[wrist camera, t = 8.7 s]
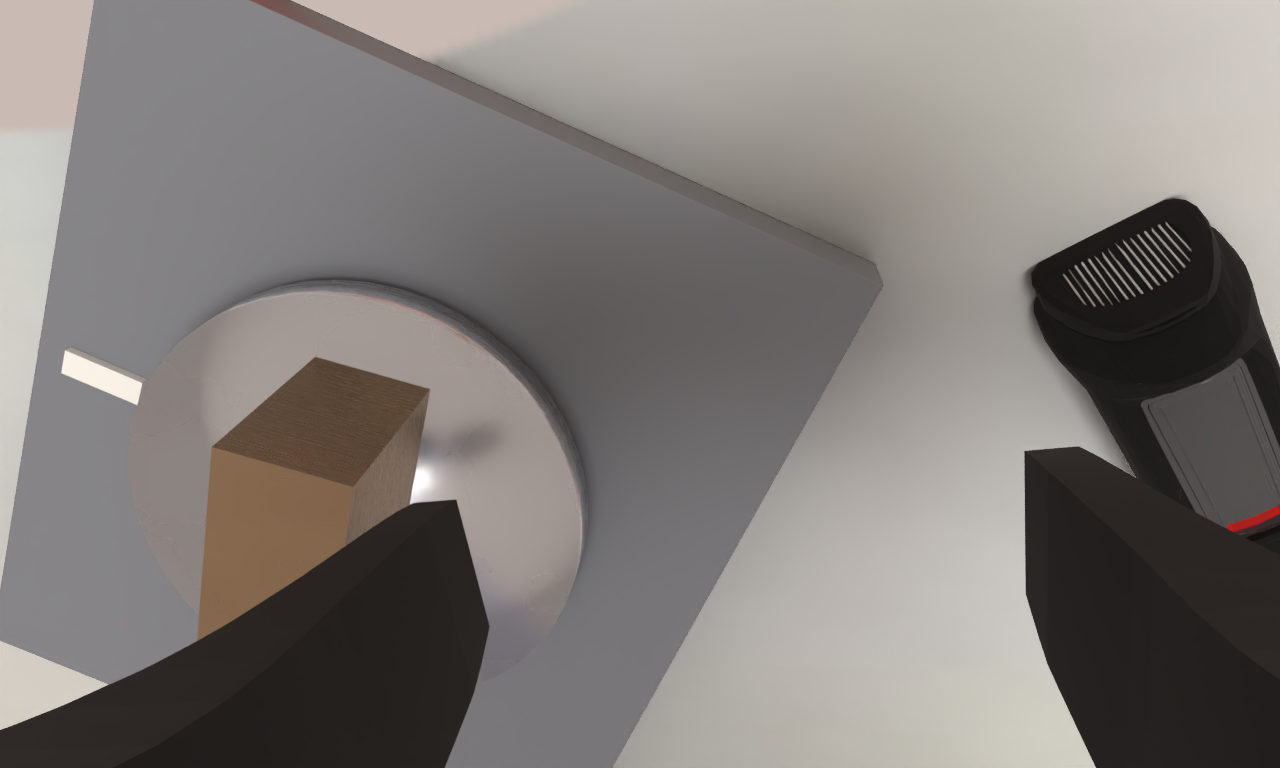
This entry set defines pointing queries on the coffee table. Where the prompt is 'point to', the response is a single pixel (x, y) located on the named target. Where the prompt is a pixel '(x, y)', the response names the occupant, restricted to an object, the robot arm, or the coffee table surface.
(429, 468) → the dial
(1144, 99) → the coffee table surface
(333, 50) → the dial base
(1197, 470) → the electric trimmer
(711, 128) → the coffee table surface
